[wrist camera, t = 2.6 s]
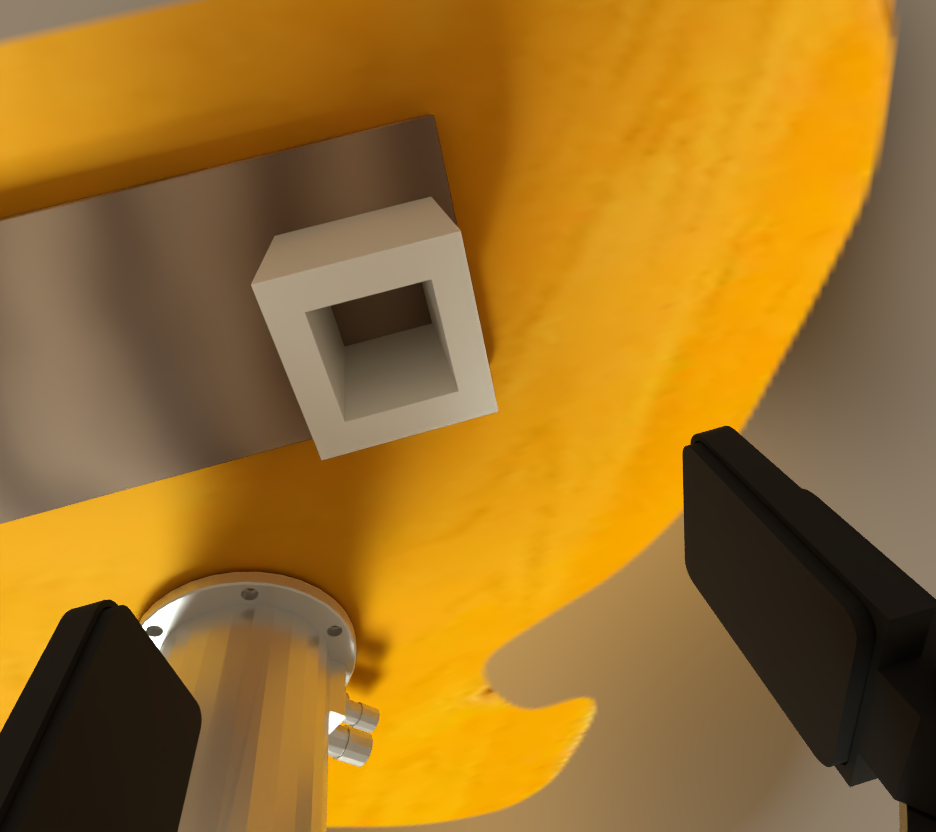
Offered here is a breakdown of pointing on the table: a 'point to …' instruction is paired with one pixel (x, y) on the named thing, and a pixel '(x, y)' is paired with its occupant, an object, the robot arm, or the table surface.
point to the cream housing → (385, 358)
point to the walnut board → (178, 314)
